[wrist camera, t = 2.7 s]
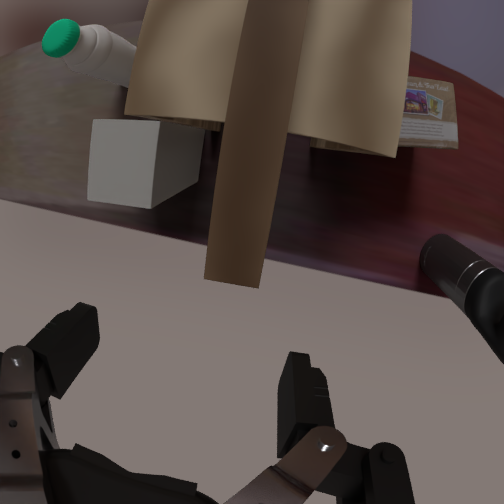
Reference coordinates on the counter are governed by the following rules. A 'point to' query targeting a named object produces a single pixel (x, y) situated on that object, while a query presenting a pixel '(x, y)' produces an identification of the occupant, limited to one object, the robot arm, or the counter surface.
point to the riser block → (142, 161)
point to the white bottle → (90, 50)
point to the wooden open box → (308, 77)
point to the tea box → (429, 115)
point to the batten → (254, 139)
